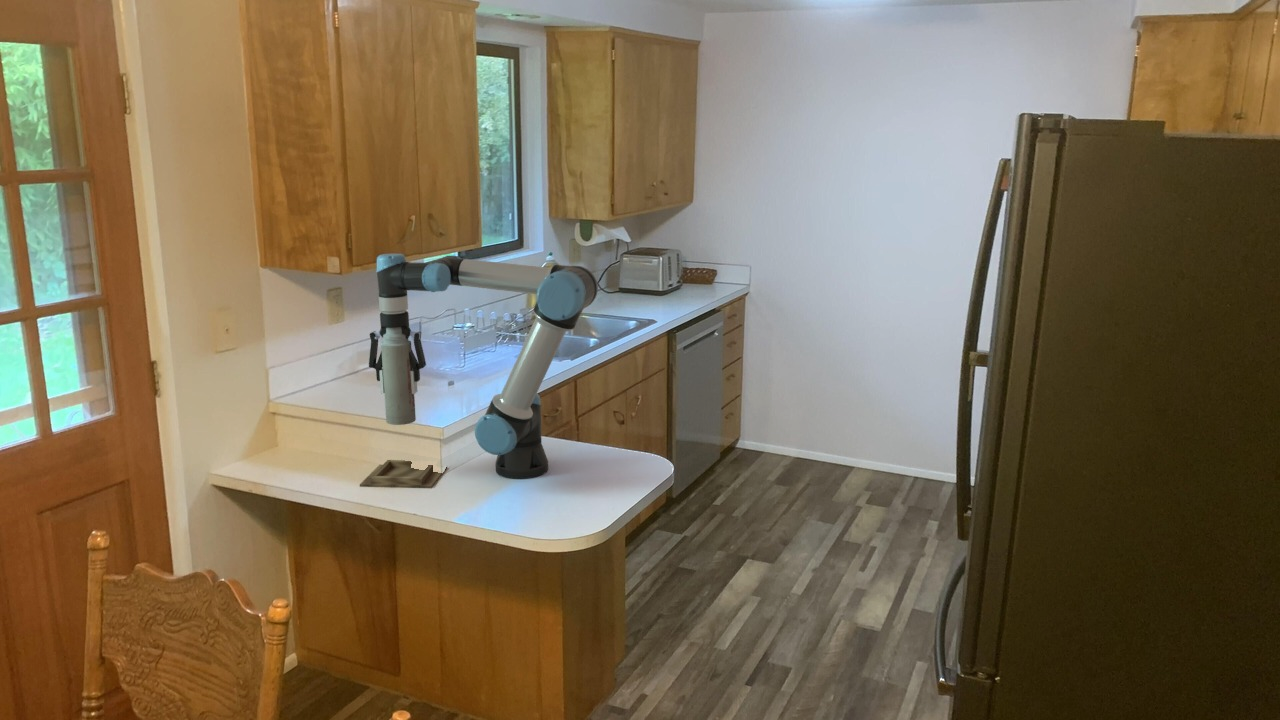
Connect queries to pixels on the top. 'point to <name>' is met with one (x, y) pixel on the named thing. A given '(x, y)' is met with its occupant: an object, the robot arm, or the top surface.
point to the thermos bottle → (397, 378)
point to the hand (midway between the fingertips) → (399, 392)
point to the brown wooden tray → (401, 476)
